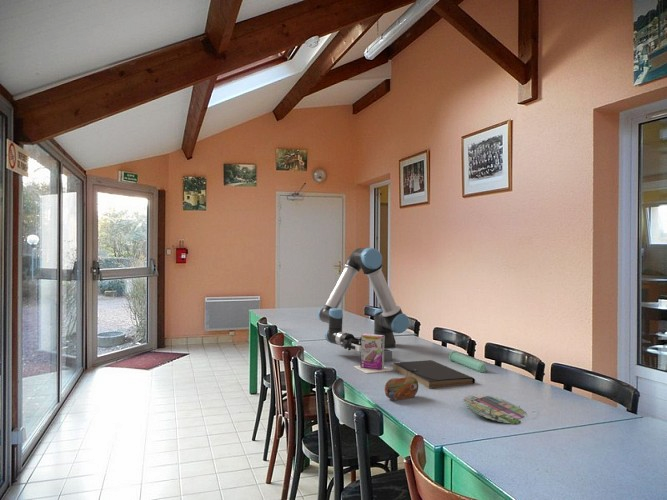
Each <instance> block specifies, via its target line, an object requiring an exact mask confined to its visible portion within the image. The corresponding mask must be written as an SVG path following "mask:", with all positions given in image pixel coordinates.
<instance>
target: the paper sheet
mask: <svg viewBox="0 0 667 500" xmlns="http://www.w3.org/2000/svg"><path fill="white" fill-rule="evenodd" d="M353 368H356V369H357V370H359V371H361V372H363V373H365V374H368V375H369V374H374V373H385V371H386V372H391V371H393V369H392V368H388V367H387V366H385V365H384V368H383V369H382V370H379V369H370V368H361V367H360V364H359V365H353Z"/></svg>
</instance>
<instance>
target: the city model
mask: <svg viewBox="0 0 667 500" xmlns="http://www.w3.org/2000/svg"><path fill="white" fill-rule="evenodd" d="M462 402H463V404H464V405H465V406H466V407H467V409H468V410H469V411H471V412H473V413H475V414H476V415H479V416H480V417H484V418H486V419H490V420H492V421H497V422H500V423H503V424H505V423H506V425H507V424H511V425H517V423H518V424H519V423H521V420H523V418H525V417H526V415H527V413H526V411H524V410H522V408H521V405H519V406H517V405H516V404H513V403H511V402H509V401H507V400H505V399H503V398H498V397H497V396H496V397H495V396H491V395H490V396H489V395H485V394H472V395H471V394H470V395H467V396H464V397H463V399H462Z"/></svg>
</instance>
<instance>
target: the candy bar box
mask: <svg viewBox="0 0 667 500" xmlns="http://www.w3.org/2000/svg"><path fill="white" fill-rule="evenodd" d="M360 338H361V346H360V364H359V365H360V367H361V368H370V369H379V370H382V369H383V368H384V366H385V361H384V342H385V336H384V335H375V334H374V333H362V334H361V335H360Z"/></svg>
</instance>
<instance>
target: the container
mask: <svg viewBox="0 0 667 500" xmlns="http://www.w3.org/2000/svg"><path fill="white" fill-rule="evenodd" d="M448 358H449V360H450V361H451V362H454V363H456V364H459V365H461V366H462V367H463V366H464V367H465V368H469V369H471V370H473V371H476V372H478V373H485V372H486V371H487V365H486V364H485V363H484V362H482V361H479V360H477V359H474V358H472V357H469V356H468V355H467V356H466V355H465V354H462V353H460V352H458V351H456V350H451V352H450V353H449V354H448Z"/></svg>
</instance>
